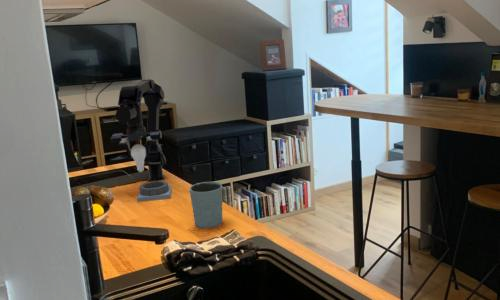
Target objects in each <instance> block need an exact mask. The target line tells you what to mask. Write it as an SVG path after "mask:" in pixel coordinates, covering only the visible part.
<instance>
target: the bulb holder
mask: <svg viewBox="0 0 500 300" xmlns="http://www.w3.org/2000/svg"><path fill="white" fill-rule="evenodd" d="M138 189H139V191H138V194H137V195H136V196H137V198H136V201H137V203H141V202H147V201H148V202H150V201H157V200H169V199H171V196H172V190H173V189H172V185H171V184H170V185H169V182H168V181H165V180H153V181H148V182H145V183H142V184H140V185H139V188H138Z"/></svg>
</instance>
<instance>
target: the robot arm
mask: <svg viewBox="0 0 500 300" xmlns="http://www.w3.org/2000/svg"><path fill="white" fill-rule="evenodd" d="M142 99H143V102H144V104H145V106H146V108H147V125H146V126H147V127H146V126H144V122H143V116H142V115H143V114H142V108H141V106H142ZM164 99H165V91H164V90H163V88H162V86H160V85H159V84H157V83H156V82H155V81H154V79H141V80H140V81H139V82H137V83H135V84H133V85H124V86H122V87H121V88H120V90H119V95H118V101H117V106H119V107H118V109H117V110H116V111H115V118H116V120H117V121H118V123H121V124H127V128H126V134H123V132H119V133H113V134H112V135H111V137H110V142H111V144H118V145H120V146H122V147H123V148H124V150H125V151H126V153H127V154H128V157H129V159H130V160H132V159H133V157H132V156H131V147H130V146H131V145H130V142H134V141H135V142H136V141H137V142H139V141H141V140H142V139H146V141H145V143H143V144H142V145H143V146H144V147H145V148H146V157H145V159H144V167H147V168H148V175H149V176H148V179H147V180H148V182H153V181H164V179H165V174H164V173H163V166H164V165H167V159H166V158H167V157H166V156H165V154H164V153H163V148H162V147H161V144H160V143H159V140H161V139H162V137H163V136H162V130H160V129H159V125H160V124H159V123H160V109H161V108H162V107H163V105H164ZM146 128H147V129H146Z"/></svg>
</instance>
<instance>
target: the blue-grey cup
mask: <svg viewBox="0 0 500 300" xmlns="http://www.w3.org/2000/svg"><path fill="white" fill-rule="evenodd" d="M189 195H190V201H191V207H192V214H193V219H194V225H195V227H197V228H198V227H199V229H214V228H217V227H219V226H221V225H222V224H223V184H221V183H219V182H216V181H203V182H197V183H195V184H192V185H191V186H189Z"/></svg>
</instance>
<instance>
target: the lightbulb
mask: <svg viewBox="0 0 500 300" xmlns="http://www.w3.org/2000/svg"><path fill="white" fill-rule="evenodd" d="M130 150H131V156H132V159H133V160H134V162H135V165H136V169H137V171H138V172H139V173H142V172H143V171H144V170H145V166H144V159H145V157H146V148H145V147H144V146H143V144H134V145H133V146H132V147H131V148H130Z"/></svg>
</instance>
